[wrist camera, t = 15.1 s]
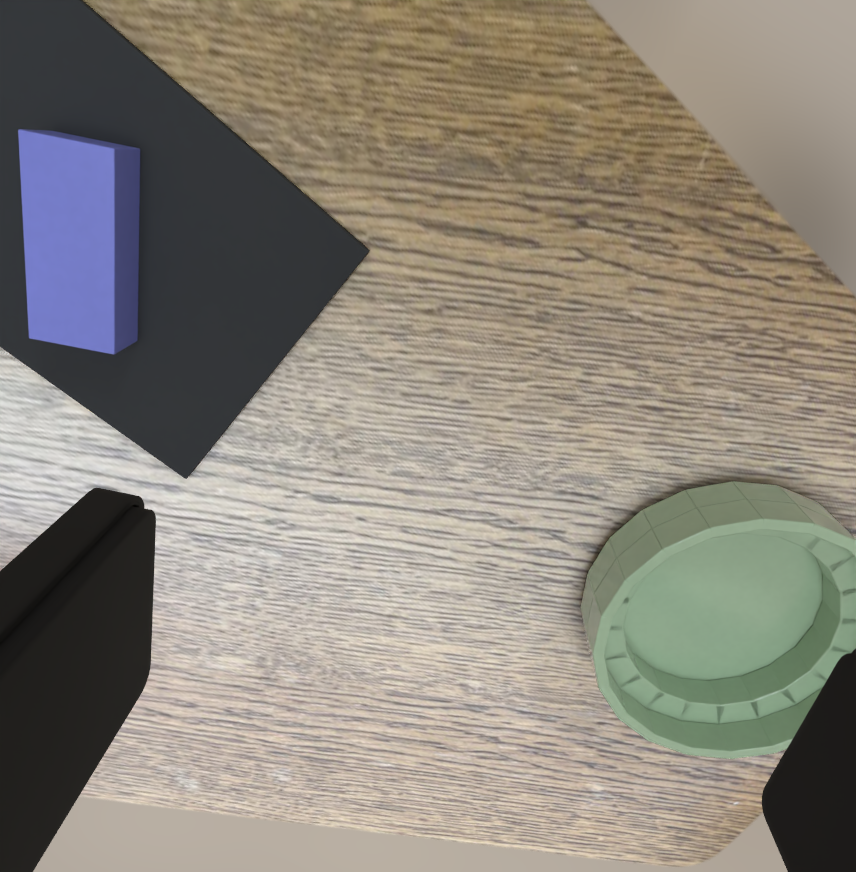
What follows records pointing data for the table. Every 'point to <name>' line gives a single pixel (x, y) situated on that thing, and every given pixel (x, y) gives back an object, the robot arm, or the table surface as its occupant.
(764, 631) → the bowl
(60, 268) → the rectangular block
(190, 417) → the mat
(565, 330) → the table surface
